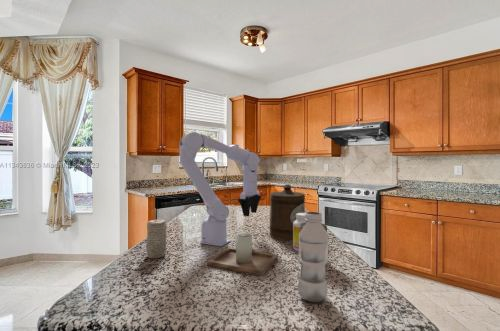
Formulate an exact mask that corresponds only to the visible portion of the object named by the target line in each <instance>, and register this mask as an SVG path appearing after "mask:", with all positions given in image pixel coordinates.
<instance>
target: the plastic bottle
mask: <svg viewBox="0 0 500 331" xmlns="http://www.w3.org/2000/svg"><path fill="white" fill-rule="evenodd" d="M305 221H306V224H305V225H304V227H303V228H302V229H301V231H300V234H299V239H300V248H301V258H302V259H301V263H300V266H301V267H300V273H299V277H298V278H299V279H298V285H297V288H298V289H297V290H298V294H299V295H300V297H301V298H302V299H303V300H305V301H306V302H310V303H321V302H323V301H324V300H325V299H326V297H327V294H328V282H327V277H326V265H325V259H326V249H327V244H328V245H329V233H328V231H327V232H326V230H325V228H324V227H323V226H322V224H323V223H322V222H323V216H322V212H317V211H305ZM321 223H322V224H321Z"/></svg>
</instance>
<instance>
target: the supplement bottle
mask: <svg viewBox="0 0 500 331" xmlns="http://www.w3.org/2000/svg"><path fill="white" fill-rule="evenodd" d="M305 213H306V212H305ZM305 213H297V214H296V218H297V219H296V220H295V221H294V223H293V240H292V248H293V250H294V251H296V252H299V233H300V225H301V224H302V223H305V222H306V221H305Z"/></svg>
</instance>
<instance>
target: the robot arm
mask: <svg viewBox="0 0 500 331" xmlns="http://www.w3.org/2000/svg"><path fill="white" fill-rule="evenodd" d="M178 146H179V147H178V148H179V163H180V165H181V166H182V168H183V170H184V171H185V172H186V174H187V176H188V178H189V180H190V181H191V183H192V184H193V186H194V187H195V189H196V190H197V192H198V194H199V195H200V197H201V198H202V200H203V204H204V205H205V208H206V213H207V215H208V218H205V219H204V220H203V221H202V223H201V227H200V228H201V241H200V244H203V245H210V246H211V245H212V246H214V247H215V246H216V247H222V246H225V245H226V244H228V243H230V242H231V241H232V240H231V239H230V238H228V236H227V235H228V232H227V230H228V224H227V223H228V222H227V221H228V220H227V219H228V217H229V214H230V209H229V207H228V206H227V205H226V204H224V203H223V202H222V200H221V199H220V198H219V197H218V196H217V195H216V193H215V191H214V190H213V188H212V187H211V185H210V183H209V182H208V181H207V178H206V177H205V176H204V173H203V172H202V171H201V168H200V167H199V165H198V164H197V162H196V160H195V159H196V156H197V153H198V151H199V150H200V149H201V148H209V149H212V150H215V151H217V152H221V153H223V154H225V155H226V158H228V159H229V160H232V161H234V162H237V163H239V164H241V165H242V166H243V168H242V169H243V170H242V173H243V177H242V180H243V181H242V182H243V183H242V185H243V187H242V188H243V189H242V192H241V193H239V195H240V196H239V197H238V198H237V199H238V200H237V201H238V202H239V205H240V207H241V211H242V214H243V217H249V216H250V213H255V214H256V213H257V211H258V208H259V203H260V200H261V199H262V195H260V190H258V165H259V164H260V162H261V159H260V158H259V155H258V154H257V153H256V152H250V149H247V148H246V149H245V148H242V147H240V145H239V144H230V145H228V144H225V143H223V142H221V141H219V140H217V139H214V138H212V137H210V136H208V135H205V134H203V133H199V132H197V131H192V132H189V133H186V134H184V135H182V137H181V139H180V140H179V144H178Z"/></svg>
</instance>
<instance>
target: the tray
mask: <svg viewBox="0 0 500 331" xmlns="http://www.w3.org/2000/svg"><path fill="white" fill-rule="evenodd" d="M278 260H279V254H275V253H270V252H269V253H267V252H263V251H262V252H261V251H255V250H252V261H251V262H250V263H246V264H242V263H238V262H236V247H230V246H229V247H227V248H226V249H224V250H223V251H221V252H219V253H218V254H216V255H214V256H212V257H211V258H209V259H208V260H207V261H206V267H212V268H217V269H221V270H227V271H231V272H237V273H243V274H246V275H251V276H252V275H253V276H257V277H262V278H263V276H265V274H266V273H267V272H268V271H269V270H270V269H271V268H272V267H273V265H275V263H276V262H277V261H278Z"/></svg>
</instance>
